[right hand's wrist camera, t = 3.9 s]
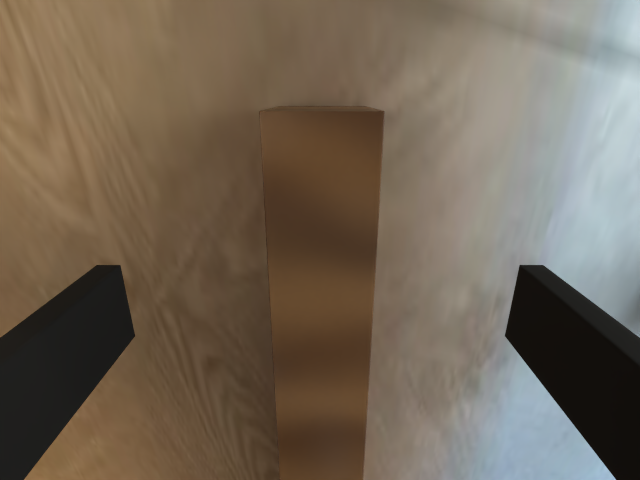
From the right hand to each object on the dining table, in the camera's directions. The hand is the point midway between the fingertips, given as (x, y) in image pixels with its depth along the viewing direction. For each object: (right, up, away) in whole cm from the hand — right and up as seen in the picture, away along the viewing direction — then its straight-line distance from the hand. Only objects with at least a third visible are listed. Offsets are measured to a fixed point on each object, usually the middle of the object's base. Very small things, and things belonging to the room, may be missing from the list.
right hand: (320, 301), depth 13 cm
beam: (0, -15, +19) cm, 24 cm away
